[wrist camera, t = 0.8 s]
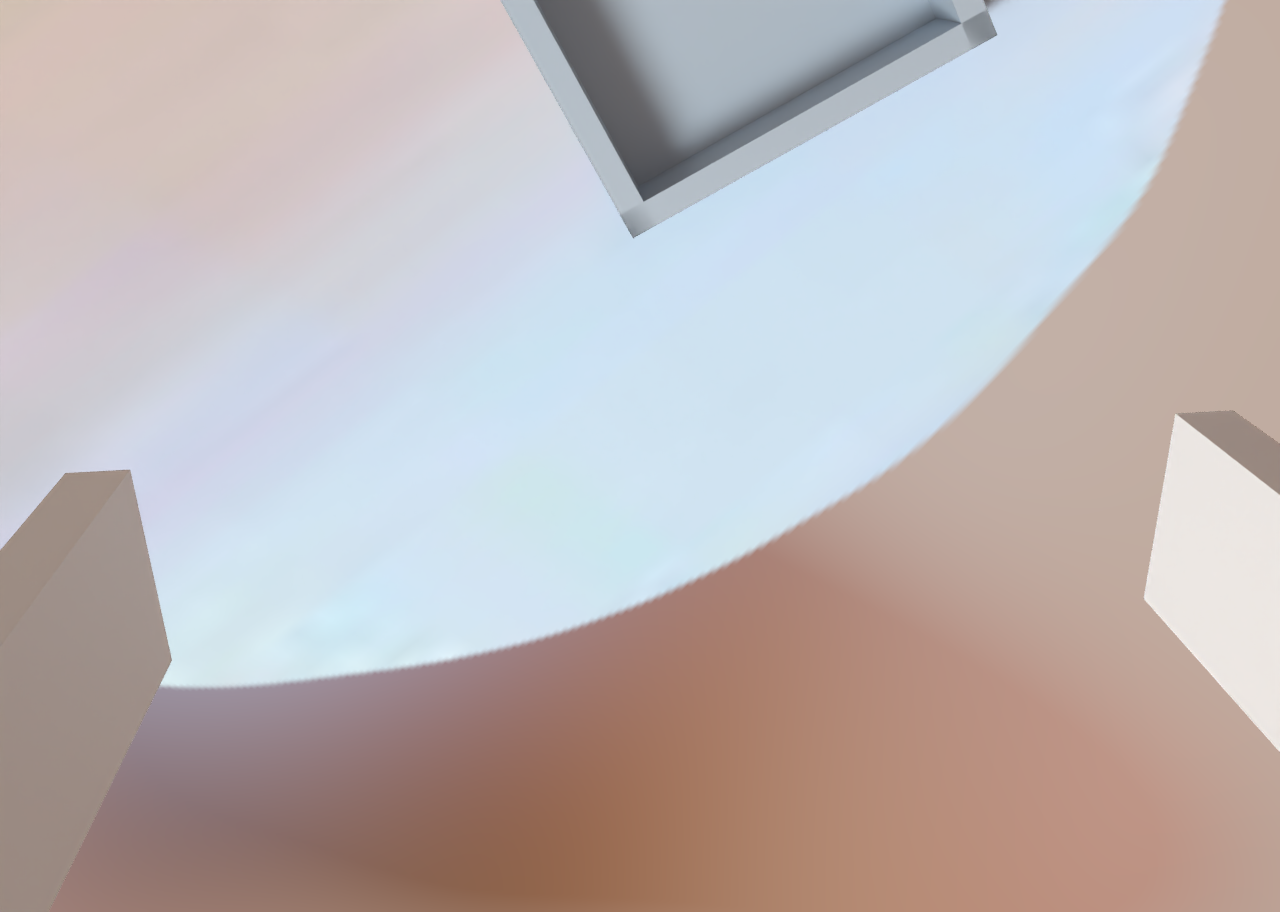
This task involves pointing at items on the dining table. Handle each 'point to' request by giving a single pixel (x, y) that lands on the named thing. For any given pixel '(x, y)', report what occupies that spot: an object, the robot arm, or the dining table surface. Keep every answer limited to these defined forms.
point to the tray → (725, 80)
